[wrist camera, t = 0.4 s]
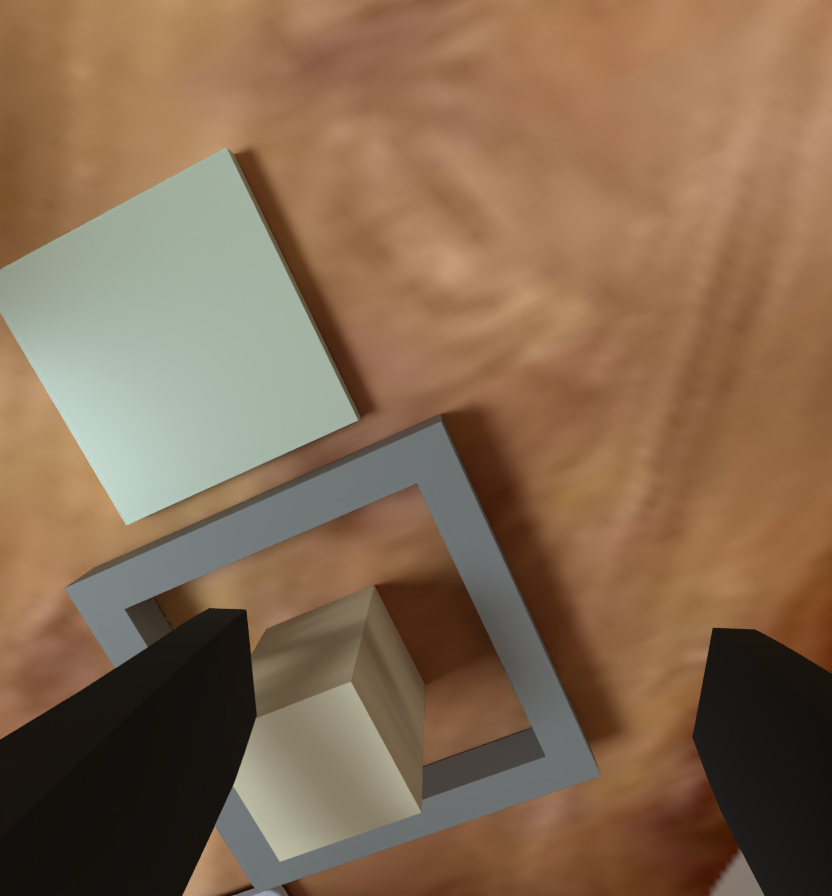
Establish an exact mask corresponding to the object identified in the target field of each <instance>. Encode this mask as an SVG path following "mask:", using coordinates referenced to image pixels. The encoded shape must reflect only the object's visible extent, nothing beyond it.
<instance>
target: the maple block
mask: <svg viewBox="0 0 832 896" xmlns="http://www.w3.org/2000/svg"><path fill="white" fill-rule="evenodd" d="M251 661H252V671H253V681H254V690H255V700H256V710H257V717H256V720H255V723H254V726H253V729H252V732H251V736H250V739H249V742H248V745H247V748H246V751H245V754H244V757H243V760H242V763H241V766H240V768H239V771H238V774H237V777H236V780H235V783H234V785H233V787H234V788H235V790H236V791H237V793H238V795H239V796H240V798H241V800H242V801H243V803H244V804H245V806H246V808H247V809H248V811H249V813H250V814H251V816H252V817H253V819H254V821H255V822H256V824H257V826H258V827H259V829H260V830H261V832H262V834H263V835H264V837H265V839H266V840H267V842H268V843H269V845H270V847H271V848H272V850H273V852H274V853H275V855H276V856H277V858H278V860H279V861H280V862H281V861H284V860H287V859H289V858H292V857H295V856H298V855H301V854H304V853H307V852H310V851H313V850H315V849H318V848H321V847H324V846H327V845H330V844H333V843H336V842H338V841H341V840H344V839H347V838H350V837H353V836H356V835H359V834H361V833H364V832H367V831H370V830H373V829H376V828H379V827H382V826H385V825H387V824H390V823H393V822H396V821H399V820H402V819H405V818H408V817H410V816H413V815H416V814H419V813H422V780H423V745H424V710H425V684H424V682H423V680H422V678H421V676H420V674H419V672H418V670H417V668H416V666H415V664H414V662H413V660H412V658H411V656H410V654H409V652H408V650H407V648H406V647H405V645H404V643H403V641H402V639H401V637H400V635H399V633H398V631H397V629H396V627H395V625H394V623H393V621H392V619H391V617H390V615H389V613H388V611H387V609H386V607H385V605H384V603H383V601H382V599H381V597H380V595H379V593H378V591H377V589H376V588H375V586H374V585H373V586H370V587H368V588H366V589H363V590H361V591H358V592H356V593H353V594H351V595H348V596H346V597H344V598H341V599H339V600H336V601H334V602H331V603H329V604H326V605H324V606H322V607H319V608H317V609H314V610H312V611H309V612H307V613H304V614H302V615H300V616H297V617H295V618H292V619H290V620H287V621H285V622H282V623H280V624H278V625H275V626H273V627H270V628H268V629H266V630H265V632H264V634H263V635H262V637H261V639H260V641H259V642H258V644H257V646H256V648H255V649H254V651H253V653H252V655H251Z"/></svg>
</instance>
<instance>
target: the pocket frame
mask: <svg viewBox="0 0 832 896" xmlns="http://www.w3.org/2000/svg"><path fill="white" fill-rule="evenodd" d="M416 483H417V485H418V487H419V489H420V491H421V493H422V495H423V497H424V499H425V502H426V504H427V506H428V508H429V510H430V512H431V514H432V516H433V518H434V521H435V523H436V525H437V527H438V529H439V531H440V533H441V535H442V538H443V540H444V542H445V544H446V546H447V548H448V550H449V552H450V555H451V557H452V559H453V561H454V563H455V565H456V567H457V569H458V571H459V574H460V576H461V578H462V580H463V582H464V584H465V586H466V588H467V591H468V593H469V595H470V597H471V599H472V601H473V603H474V605H475V607H476V610H477V612H478V614H479V616H480V618H481V620H482V622H483V624H484V627H485V629H486V631H487V633H488V635H489V637H490V639H491V641H492V643H493V646H494V648H495V650H496V652H497V654H498V656H499V658H500V660H501V663H502V665H503V667H504V669H505V671H506V673H507V675H508V677H509V679H510V682H511V684H512V686H513V688H514V690H515V692H516V694H517V696H518V699H519V701H520V703H521V705H522V707H523V709H524V711H525V713H526V715H527V718H528V720H529V722H530V724H531V726H532V728H530V729H528V730H525V731H522V732H519V733H517V734H514V735H511V736H508V737H505V738H503V739H500V740H497V741H494V742H491V743H489V744H486V745H483V746H480V747H478V748H475V749H472V750H469V751H466V752H464V753H461V754H458V755H455V756H452V757H450V758H447V759H444V760H441V761H439V762H436V763H433V764H430V765H427V766H425V767H423V780H422V813H419V814H416V815H413V816H410V817H408V818H405V819H402V820H399V821H396V822H393V823H390V824H387V825H385V826H382V827H379V828H376V829H373V830H370V831H367V832H364V833H361V834H359V835H356V836H353V837H350V838H347V839H344V840H341V841H338V842H336V843H333V844H330V845H327V846H324V847H321V848H318V849H315V850H313V851H310V852H307V853H304V854H301V855H298V856H295V857H292V858H289V859H287V860H284V861H281V862H280V861H279V860H278V858H277V856H276V855H275V853H274V852H273V850H272V848H271V847H270V845H269V843H268V842H267V840H266V839H265V837H264V835H263V834H262V832H261V830H260V829H259V827H258V826H257V824H256V822H255V821H254V819H253V817H252V816H251V814H250V813H249V811H248V809H247V808H246V806H245V804H244V803H243V801H242V800H241V798H240V796H239V795H238V793H237V791H236V790H235V788H234V787H232V789H231V791H230V794H229V796H228V798H227V800H226V803H225V805H224V807H223V809H222V811H221V813H220V816H219V818H218V820H217V822H216V824H215V827H216V828H217V830H218V831H219V833H220V835H221V836H222V838H223V839H224V841H225V842H226V844H227V846H228V847H229V849H230V850H231V852H232V853H233V855H234V857H235V858H236V860H237V861H238V863H239V865H240V866H241V868H242V869H243V871H244V872H245V874H246V876H247V877H248V879H249V880H250V882H251V883H252V885H253V887H254V888H255V890H256V891H257V893H259V892H262V891H265V890H268V889H271V888H274V887H277V886H280V885H283V884H286V883H289V882H292V881H295V880H297V879H300V878H303V877H306V876H309V875H312V874H315V873H318V872H321V871H324V870H327V869H330V868H333V867H336V866H338V865H341V864H344V863H347V862H350V861H353V860H356V859H359V858H362V857H365V856H368V855H371V854H374V853H377V852H379V851H382V850H385V849H388V848H391V847H394V846H397V845H400V844H403V843H406V842H409V841H412V840H415V839H418V838H420V837H423V836H426V835H429V834H432V833H435V832H438V831H441V830H444V829H447V828H450V827H453V826H456V825H459V824H461V823H464V822H467V821H470V820H473V819H476V818H479V817H482V816H485V815H488V814H491V813H494V812H497V811H500V810H502V809H505V808H508V807H511V806H514V805H517V804H520V803H523V802H526V801H529V800H532V799H535V798H538V797H541V796H543V795H546V794H549V793H552V792H555V791H558V790H561V789H564V788H567V787H570V786H573V785H576V784H579V783H582V782H584V781H587V780H590V779H593V778H596V777H599V776H601V774H600V772H599V769H598V766H597V764H596V761H595V758H594V755H593V753H592V750H591V747H590V745H589V742H588V740H587V738H586V736H585V734H584V731H583V729H582V727H581V725H580V722H579V720H578V718H577V716H576V714H575V711H574V709H573V707H572V705H571V702H570V700H569V698H568V696H567V694H566V691H565V689H564V687H563V685H562V682H561V680H560V678H559V676H558V674H557V671H556V669H555V667H554V665H553V663H552V660H551V658H550V656H549V654H548V651H547V649H546V647H545V645H544V643H543V640H542V638H541V636H540V634H539V631H538V629H537V627H536V625H535V623H534V620H533V618H532V616H531V614H530V612H529V609H528V607H527V605H526V603H525V600H524V598H523V596H522V594H521V592H520V589H519V587H518V585H517V583H516V580H515V578H514V576H513V574H512V572H511V569H510V567H509V565H508V563H507V561H506V558H505V556H504V554H503V552H502V549H501V547H500V545H499V543H498V541H497V538H496V536H495V534H494V532H493V529H492V527H491V525H490V523H489V521H488V518H487V516H486V514H485V512H484V510H483V507H482V505H481V503H480V501H479V498H478V496H477V494H476V492H475V490H474V487H473V485H472V483H471V481H470V478H469V476H468V474H467V472H466V470H465V467H464V465H463V463H462V461H461V459H460V456H459V454H458V452H457V450H456V447H455V445H454V443H453V441H452V439H451V436H450V434H449V432H448V430H447V427H446V425H445V423H444V421H443V419H442V416H441V414H440V415H437V416H435V417H433V418H431V419H428V420H426V421H424V422H422V423H419V424H417V425H415V426H413V427H410V428H408V429H406V430H404V431H401V432H399V433H397V434H395V435H392V436H390V437H388V438H386V439H383V440H381V441H379V442H377V443H374V444H372V445H370V446H368V447H365V448H363V449H361V450H359V451H356V452H354V453H352V454H350V455H347V456H345V457H343V458H341V459H338V460H336V461H334V462H332V463H329V464H327V465H325V466H323V467H320V468H318V469H316V470H314V471H311V472H309V473H307V474H305V475H302V476H300V477H298V478H296V479H293V480H291V481H289V482H287V483H284V484H282V485H280V486H278V487H275V488H273V489H271V490H269V491H266V492H264V493H262V494H260V495H257V496H255V497H253V498H251V499H248V500H246V501H244V502H242V503H240V504H237V505H235V506H233V507H231V508H228V509H226V510H224V511H222V512H219V513H217V514H215V515H213V516H210V517H208V518H206V519H204V520H201V521H199V522H197V523H195V524H192V525H190V526H188V527H186V528H183V529H181V530H179V531H177V532H174V533H172V534H170V535H168V536H165V537H163V538H161V539H159V540H156V541H154V542H152V543H150V544H147V545H145V546H143V547H141V548H138V549H136V550H134V551H132V552H129V553H127V554H125V555H123V556H120V557H118V558H116V559H114V560H111V561H109V562H107V563H105V564H102V565H100V566H98V567H96V568H93V569H92V570H90V571H89V572H87V573H86V574H84V575H83V576H81V577H80V578H79V579H77V580H76V581H74V582H73V583H71V584H70V585H68V586H67V587H66V588H65V590H66V591H67V593H68V595H69V596H70V598H71V599H72V601H73V602H74V604H75V606H76V607H77V609H78V610H79V612H80V613H81V615H82V617H83V618H84V620H85V621H86V623H87V625H88V626H89V628H90V629H91V631H92V632H93V634H94V636H95V637H96V639H97V640H98V642H99V643H100V645H101V647H102V648H103V650H104V651H105V653H106V655H107V656H108V658H109V659H110V661H111V662H112V664H113V666H114V667H115V668H116V667H118V666H120V665H121V664H123V663H124V662H126V661H127V660H129V659H130V658H132V657H133V656H135V655H136V654H138V653H139V652H141V651H142V650H144V649H146V648H147V647H149V646H150V645H152V644H153V643H155V642H156V641H158V640H159V639H161V638H162V637H164V636H165V635H167V634H168V633H170V632H171V631H173V630H172V628H171V627H170V625H169V623H168V622H167V620H166V618H165V617H164V615H163V613H162V612H161V610H160V608H159V607H158V605H157V603H156V602H155V600H154V598H153V597H154V596H156V595H158V594H161V593H163V592H165V591H168V590H170V589H172V588H175V587H177V586H179V585H182V584H184V583H186V582H189V581H191V580H193V579H196V578H198V577H200V576H203V575H205V574H207V573H210V572H212V571H214V570H216V569H219V568H221V567H223V566H226V565H228V564H230V563H233V562H235V561H237V560H240V559H242V558H244V557H247V556H249V555H251V554H254V553H256V552H258V551H261V550H263V549H265V548H268V547H270V546H272V545H275V544H277V543H279V542H282V541H284V540H286V539H289V538H291V537H293V536H295V535H298V534H300V533H302V532H305V531H307V530H309V529H312V528H314V527H316V526H319V525H321V524H323V523H326V522H328V521H330V520H333V519H335V518H337V517H340V516H342V515H344V514H347V513H349V512H351V511H354V510H356V509H358V508H361V507H363V506H365V505H368V504H370V503H372V502H375V501H377V500H379V499H381V498H384V497H386V496H388V495H391V494H393V493H395V492H398V491H400V490H402V489H405V488H407V487H409V486H412V485H414V484H416Z"/></svg>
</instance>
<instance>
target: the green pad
mask: <svg viewBox="0 0 832 896" xmlns="http://www.w3.org/2000/svg"><path fill="white" fill-rule="evenodd" d="M0 313H1V315H2V317H3V318H4V320H5V322H6V323H7V325H8V327H9V328H10V330H11V332H12V333H13V335H14V337H15V338H16V340H17V342H18V344H19V345H20V347H21V349H22V350H23V352H24V354H25V355H26V357H27V359H28V360H29V362H30V364H31V365H32V367H33V369H34V371H35V372H36V374H37V376H38V377H39V379H40V381H41V382H42V384H43V386H44V387H45V389H46V391H47V392H48V394H49V396H50V397H51V399H52V401H53V403H54V404H55V406H56V408H57V409H58V411H59V413H60V414H61V416H62V418H63V419H64V421H65V423H66V424H67V426H68V428H69V429H70V431H71V433H72V435H73V436H74V438H75V440H76V441H77V443H78V445H79V446H80V448H81V450H82V451H83V453H84V455H85V456H86V458H87V460H88V461H89V463H90V465H91V467H92V468H93V470H94V472H95V473H96V475H97V477H98V478H99V480H100V482H101V483H102V485H103V487H104V488H105V490H106V492H107V493H108V495H109V497H110V499H111V500H112V502H113V504H114V505H115V507H116V509H117V510H118V512H119V514H120V515H121V517H122V519H123V520H124V522H125V524H126V525H128V524H130V523H133V522H135V521H137V520H139V519H141V518H144V517H146V516H148V515H150V514H153V513H155V512H157V511H159V510H161V509H164V508H166V507H168V506H170V505H172V504H175V503H177V502H179V501H181V500H183V499H186V498H188V497H190V496H192V495H194V494H197V493H199V492H201V491H203V490H206V489H208V488H210V487H212V486H214V485H217V484H219V483H221V482H223V481H225V480H228V479H230V478H232V477H234V476H236V475H239V474H241V473H243V472H245V471H248V470H250V469H252V468H254V467H256V466H259V465H261V464H263V463H265V462H267V461H270V460H272V459H274V458H276V457H278V456H281V455H283V454H285V453H287V452H289V451H292V450H294V449H296V448H298V447H301V446H303V445H305V444H307V443H309V442H312V441H314V440H316V439H318V438H320V437H323V436H325V435H327V434H329V433H331V432H334V431H336V430H338V429H340V428H343V427H345V426H347V425H349V424H351V423H354V422H356V421H358V420H359V419H360V418H361V417H360V415H359V413H358V411H357V408H356V406H355V404H354V402H353V400H352V398H351V396H350V394H349V392H348V390H347V388H346V386H345V384H344V381H343V379H342V377H341V375H340V373H339V371H338V369H337V367H336V365H335V363H334V361H333V359H332V357H331V354H330V352H329V350H328V348H327V346H326V344H325V342H324V340H323V338H322V336H321V334H320V332H319V330H318V327H317V325H316V323H315V321H314V319H313V317H312V315H311V313H310V311H309V309H308V307H307V305H306V303H305V300H304V298H303V296H302V294H301V292H300V290H299V288H298V286H297V284H296V282H295V280H294V278H293V276H292V273H291V271H290V269H289V267H288V265H287V263H286V261H285V259H284V257H283V255H282V253H281V251H280V249H279V246H278V244H277V242H276V240H275V238H274V236H273V234H272V232H271V230H270V228H269V226H268V224H267V222H266V219H265V217H264V215H263V213H262V211H261V209H260V207H259V205H258V203H257V201H256V199H255V197H254V195H253V192H252V190H251V188H250V186H249V184H248V182H247V180H246V178H245V176H244V174H243V172H242V170H241V168H240V165H239V163H238V161H237V159H236V157H235V155H234V153H232V152H231V151H230V150H229V149H228V148H227V147H226V148H224V149H222V150H220V151H218V152H216V153H214V154H213V155H211V156H209V157H207V158H205V159H203V160H201V161H200V162H198V163H196V164H194V165H192V166H190V167H188V168H187V169H185V170H183V171H181V172H179V173H177V174H176V175H174V176H172V177H170V178H168V179H166V180H164V181H163V182H161V183H159V184H157V185H155V186H153V187H151V188H150V189H148V190H146V191H144V192H142V193H140V194H138V195H137V196H135V197H133V198H131V199H129V200H127V201H126V202H124V203H122V204H120V205H118V206H116V207H114V208H113V209H111V210H109V211H107V212H105V213H103V214H101V215H100V216H98V217H96V218H94V219H92V220H90V221H88V222H87V223H85V224H83V225H81V226H79V227H77V228H76V229H74V230H72V231H70V232H68V233H66V234H64V235H63V236H61V237H59V238H57V239H55V240H53V241H51V242H50V243H48V244H46V245H44V246H42V247H40V248H38V249H37V250H35V251H33V252H31V253H29V254H27V255H26V256H24V257H22V258H20V259H18V260H16V261H14V262H13V263H11V264H9V265H7V266H5V267H3V268H1V269H0Z"/></svg>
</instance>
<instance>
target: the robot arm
mask: <svg viewBox="0 0 832 896" xmlns="http://www.w3.org/2000/svg"><path fill="white" fill-rule="evenodd" d="M256 717H257V710H256V700H255V690H254V681H253V671H252V661H251V651H250V641H249V631H248V621H247V611H246V610H242V609H216V608H209V609H207V610H205V611H204V612H202V613H200V614H198V615H197V616H195V617H193V618H192V619H190V620H188V621H187V622H185V623H184V624H182V625H181V626H179V627H177V628H176V629H174V630H173V631H171V632H170V633H168V634H167V635H165V636H164V637H162V638H161V639H159V640H158V641H156V642H155V643H153V644H152V645H150V646H149V647H147V648H146V649H144V650H142V651H141V652H139V653H138V654H136V655H135V656H133V657H132V658H130V659H129V660H127V661H126V662H124V663H123V664H121V665H120V666H118V667H116V668H115V669H113V670H112V671H110V672H109V673H107V674H106V675H104V676H103V677H101V678H100V679H98V680H97V681H95V682H93V683H92V684H90V685H89V686H87V687H86V688H84V689H83V690H81V691H79V692H78V693H76V694H75V695H73V696H71V697H70V698H68V699H66V700H65V701H63V702H61V703H60V704H58V705H56V706H55V707H53V708H51V709H50V710H48V711H47V712H45V713H43V714H42V715H40V716H38V717H37V718H35V719H33V720H32V721H30V722H28V723H27V724H25V725H24V726H22V727H20V728H19V729H17V730H15V731H14V732H12V733H10V734H9V735H7V736H5V737H4V738H2V739H0V896H182V895H183V893H184V891H185V889H186V887H187V884H188V882H189V880H190V878H191V876H192V874H193V872H194V869H195V867H196V865H197V863H198V861H199V859H200V857H201V854H202V852H203V850H204V848H205V846H206V844H207V842H208V840H209V837H210V835H211V833H212V831H213V829H214V826H215V824H216V822H217V820H218V818H219V816H220V813H221V811H222V809H223V807H224V805H225V803H226V800H227V798H228V796H229V794H230V791H231V789H232V787H233V785H234V783H235V780H236V777H237V774H238V771H239V768H240V766H241V763H242V760H243V757H244V754H245V751H246V748H247V745H248V742H249V739H250V736H251V732H252V729H253V726H254V723H255V720H256ZM693 740H694V743H695V745H696V748H697V751H698V754H699V756H700V759H701V762H702V764H703V767H704V770H705V772H706V775H707V778H708V780H709V783H710V785H711V788H712V790H713V793H714V795H715V798H716V800H717V803H718V805H719V807H720V810H721V812H722V814H723V816H724V818H725V820H726V822H727V824H728V826H729V828H730V830H731V832H732V834H733V836H734V838H735V840H736V841H737V843H738V845H739V847H740V849H741V851H742V853H743V855H744V857H745V859H746V861H747V863H748V865H749V867H750V869H751V870H752V872H753V874H754V876H755V878H756V880H757V882H758V884H759V886H760V887H761V889H762V891H763V893H764V895H765V896H832V674H831V673H830V672H828V671H826V670H825V669H823V668H821V667H820V666H818V665H817V664H815V663H813V662H812V661H810V660H808V659H807V658H805V657H803V656H802V655H800V654H798V653H797V652H795V651H793V650H791V649H790V648H788V647H786V646H785V645H783V644H781V643H779V642H778V641H776V640H774V639H772V638H770V637H768V636H767V635H765V634H763V633H761V632H759V631H757V630H755V629H729V628H713V630H712V635H711V640H710V646H709V651H708V657H707V662H706V667H705V673H704V678H703V684H702V689H701V695H700V700H699V705H698V711H697V716H696V722H695V727H694V733H693ZM233 896H288V894H287V892H286V891H285V889H284V888H283V887H282V886H281V885H280V886H277V887H274V888H271V889H268V890H265V891H262V892H259V893H257V891H256V890H255V888H254V889H251V890H248V891H245V892H242V893H239V894H236V895H233Z"/></svg>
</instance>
